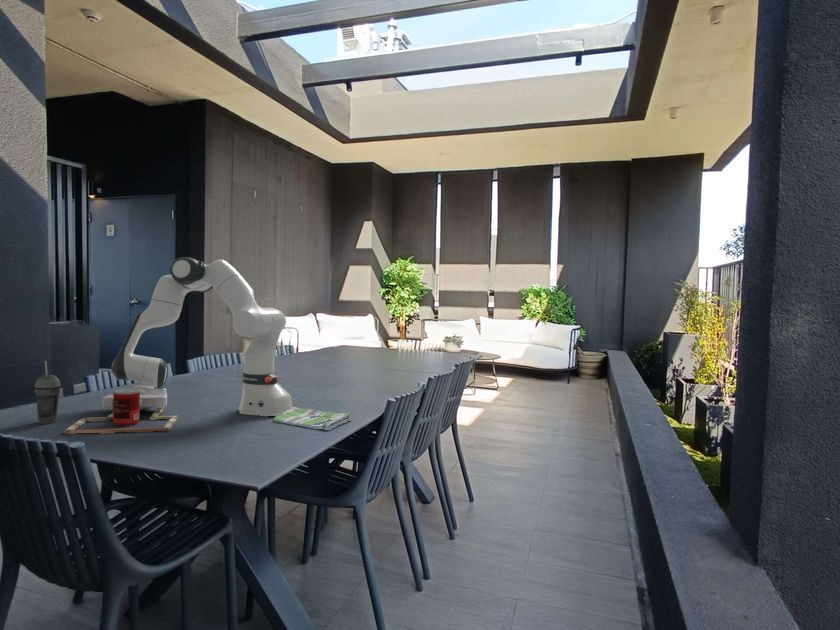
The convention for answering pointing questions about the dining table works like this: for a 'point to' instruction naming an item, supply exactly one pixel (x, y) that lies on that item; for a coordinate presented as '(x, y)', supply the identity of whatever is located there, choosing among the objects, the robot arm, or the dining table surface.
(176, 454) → the dining table surface
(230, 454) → the dining table surface
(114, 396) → the canned food
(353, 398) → the dining table surface
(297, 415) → the dish towel
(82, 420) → the t outline
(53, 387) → the beverage cup
